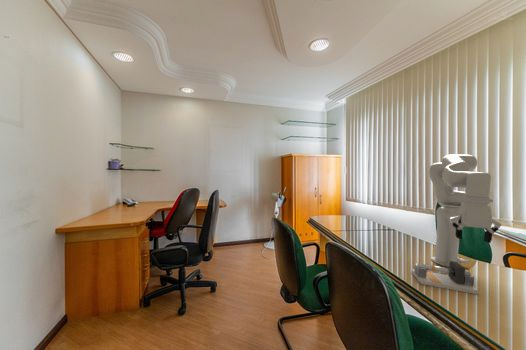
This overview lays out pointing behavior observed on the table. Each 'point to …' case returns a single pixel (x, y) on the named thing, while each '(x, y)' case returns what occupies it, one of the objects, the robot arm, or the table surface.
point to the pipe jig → (443, 278)
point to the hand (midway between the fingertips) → (472, 240)
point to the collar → (457, 272)
